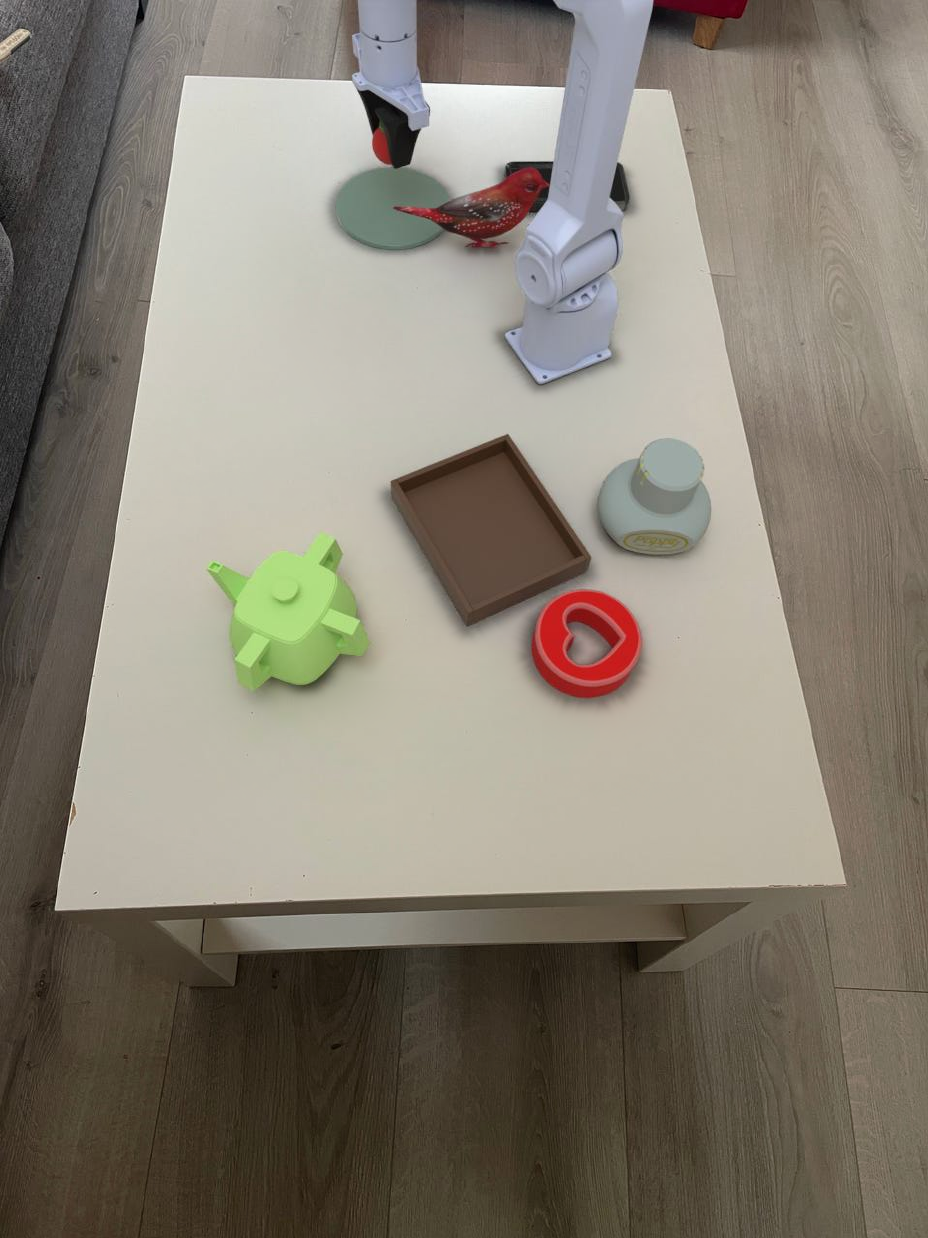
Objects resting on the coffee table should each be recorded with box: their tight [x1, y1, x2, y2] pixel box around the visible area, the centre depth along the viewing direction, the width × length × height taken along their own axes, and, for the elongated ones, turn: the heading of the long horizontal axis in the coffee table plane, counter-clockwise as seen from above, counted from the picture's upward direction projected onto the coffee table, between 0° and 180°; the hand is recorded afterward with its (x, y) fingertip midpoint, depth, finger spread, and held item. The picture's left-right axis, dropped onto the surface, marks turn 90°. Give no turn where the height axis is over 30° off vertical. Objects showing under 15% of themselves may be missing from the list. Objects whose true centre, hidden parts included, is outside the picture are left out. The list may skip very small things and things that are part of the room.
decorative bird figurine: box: [393, 168, 549, 249], centre depth 97 cm, size 3×18×10 cm, turn 98°
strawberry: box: [371, 122, 392, 166], centre depth 96 cm, size 4×4×4 cm
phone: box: [504, 160, 631, 212], centre depth 106 cm, size 8×1×15 cm
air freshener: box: [597, 437, 712, 555], centre depth 81 cm, size 11×8×10 cm
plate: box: [335, 166, 451, 251], centre depth 104 cm, size 14×14×1 cm
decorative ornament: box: [531, 588, 643, 699], centre depth 78 cm, size 10×10×3 cm
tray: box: [390, 433, 592, 627], centre depth 83 cm, size 13×16×3 cm
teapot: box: [205, 531, 371, 692], centre depth 74 cm, size 12×12×10 cm
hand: (392, 152), depth 97 cm, fingers closed on strawberry, 4 cm apart
